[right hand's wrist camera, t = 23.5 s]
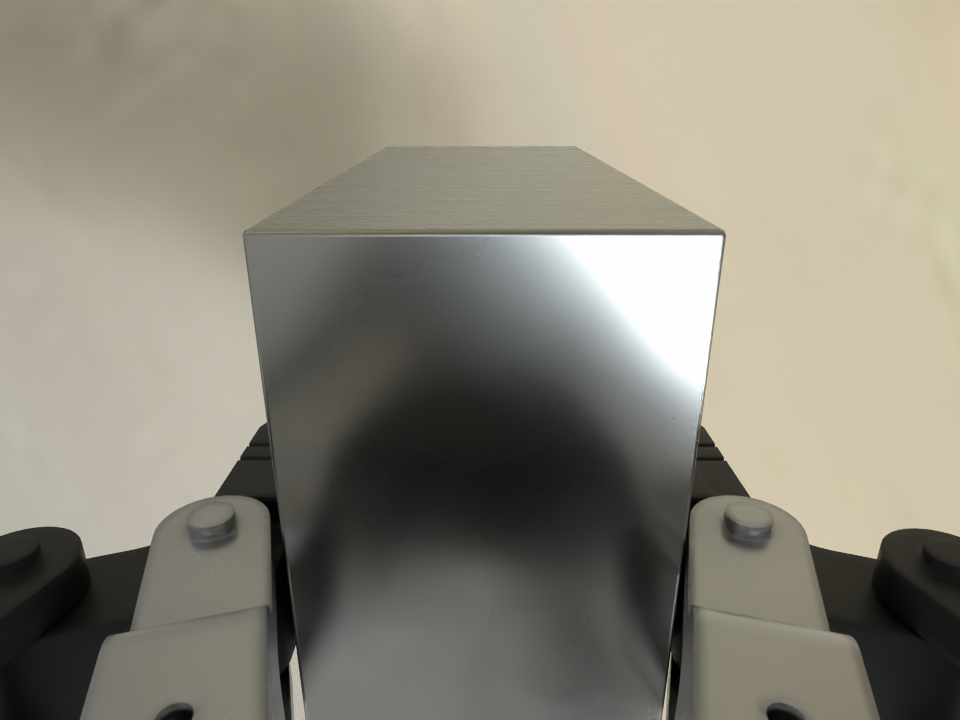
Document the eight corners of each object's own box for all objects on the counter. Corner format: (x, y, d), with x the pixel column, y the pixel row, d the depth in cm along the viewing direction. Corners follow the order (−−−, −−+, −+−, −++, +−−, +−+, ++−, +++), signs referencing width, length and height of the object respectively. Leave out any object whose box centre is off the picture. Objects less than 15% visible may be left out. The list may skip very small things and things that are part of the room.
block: (577, 146, 15) (729, 230, 6) (560, 486, 18) (641, 882, 9) (386, 146, 15) (240, 230, 6) (403, 486, 18) (325, 883, 9)
